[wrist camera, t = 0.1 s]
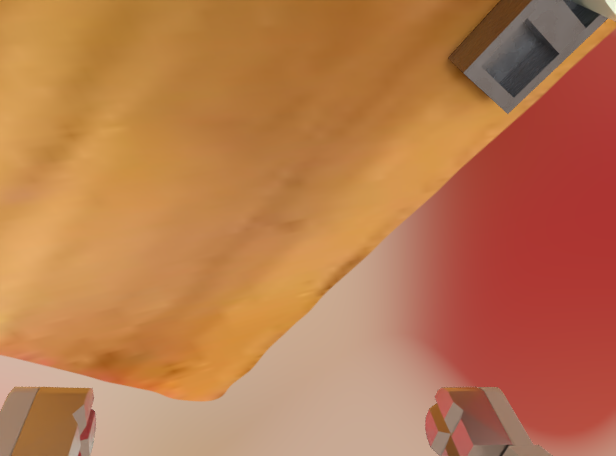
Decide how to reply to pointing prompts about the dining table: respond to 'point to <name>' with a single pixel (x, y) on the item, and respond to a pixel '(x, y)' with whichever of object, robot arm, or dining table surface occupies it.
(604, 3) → the beige peg
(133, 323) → the dining table surface
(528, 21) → the grey peg holder
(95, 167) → the dining table surface
